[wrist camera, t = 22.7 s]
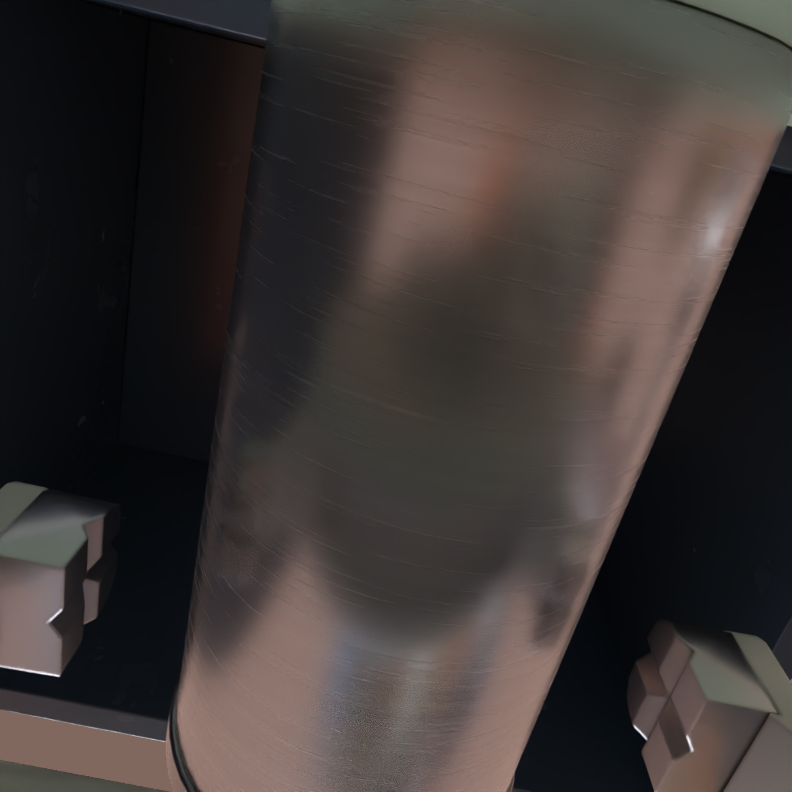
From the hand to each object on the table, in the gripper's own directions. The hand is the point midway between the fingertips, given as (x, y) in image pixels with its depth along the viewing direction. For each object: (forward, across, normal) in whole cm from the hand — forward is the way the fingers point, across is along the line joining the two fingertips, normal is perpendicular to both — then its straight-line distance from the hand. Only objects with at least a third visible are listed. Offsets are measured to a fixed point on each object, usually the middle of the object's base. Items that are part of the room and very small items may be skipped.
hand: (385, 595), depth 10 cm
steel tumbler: (+1, 0, -8) cm, 8 cm away
